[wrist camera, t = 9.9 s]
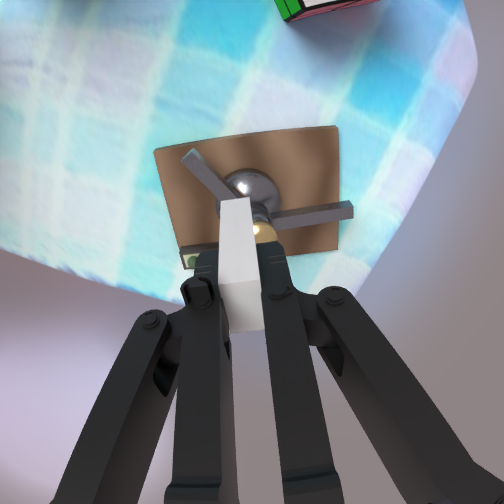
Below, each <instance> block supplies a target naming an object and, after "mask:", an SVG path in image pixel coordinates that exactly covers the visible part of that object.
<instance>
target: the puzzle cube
mask: <svg viewBox="0 0 504 504" xmlns="http://www.w3.org/2000/svg"><path fill="white" fill-rule="evenodd" d="M376 1H379V0H275V3H276V5H277V7H278V9H279V11H280V14H281V16H282V18H283V20H284V21H286V22H291V21H294V20H297V19H301V18H305V17H308V16H312V15H316V14H320V13H324V12H328V11H330V10H332V11H333V10H337V9H342V8H347V7H352V6H357V5H362V4H368V3H372V2H376Z"/></svg>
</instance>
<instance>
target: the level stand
mask: <svg viewBox="0 0 504 504" xmlns="http://www.w3.org/2000/svg"><path fill="white" fill-rule="evenodd" d="M192 148H195V149H196V150H197V151H198V152H199V153H200V154H201V155H202V156H203V157H204V158H205V159H206V160H207V161H208V162H209V163H210V164H211V165H212V166H213V168H214V169H215V170H216V171H217V172H218V173H219V174H220V175H221V176H222V177H223V178H224V177H226V176H227V175H228V174H229V173H231V172H233V171H235V170H238V169H243V168H253V169H258V170H260V171H263V172H264V173H266V174H267V175H269V176H270V177H271V178H272V179H273V181H274V182H275V184H276V186H277V189H278V192H279V196H280V200H281V208H280V211H284V210H290V209H296V208H302V207H308V206H315V205H321V204H328V203H334V202H339V142H338V128H337V127H336V126H319V127H305V128H294V129H283V130H273V131H264V132H255V133H247V134H240V135H232V136H225V137H219V138H212V139H206V140H200V141H194V142H188V143H182V144H177V145H172V146H167V147H161V148H157V149H155V150H154V157H155V161H156V165H157V169H158V173H159V177H160V181H161V185H162V189H163V192H164V196H165V200H166V204H167V207H168V211H169V215H170V218H171V222H172V226H173V229H174V233H175V236H176V240H177V243H178V247H179V250H180V252H179V254H180V257H181V260H182V264H183V267H184V270H186V269H194V268H195V260H196V258H197V257H198V255H199V254H200V252H204V251H211V250H219V235H220V219H219V218H218V216H217V213H216V209H215V202H216V196H215V195H214V194H213V193H212V192H211V191H210V190H209V189H208V188H207V187H206V186H205V185H204V184H203V183H202V182H201V181H200V180H199V179H198V178H197V177H196V176H195V175H194V174H193V173H192V172H191V171H190V170H189V169H188V168H187V167H186V166H185V165H184V164H183V163H182V162H181V160H182V158H183V157H184V156H185V155H186V154H187V153H188V152H189V151H190V150H191V149H192ZM338 224H339V221H333V222H327V223H321V224H315V225H308V226H302V227H296V228H290V229H284V230H278V231H276V233H277V238H278V242H279V243H280V244H281V245H282V246H283V247H284V251H285V256H292V255H300V254H308V253H316V252H324V251H331V250H338Z"/></svg>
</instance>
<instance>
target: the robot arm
mask: <svg viewBox="0 0 504 504" xmlns="http://www.w3.org/2000/svg"><path fill="white" fill-rule="evenodd" d="M180 290H181V293H182V296H183V299H184V302H185V304H186V306H185V307H184V308H182V309H181V310H179V311H177V312H174V313H172V314H169V315H166V314H165V313H164V312H163V311H161V310H149V311H146V312H145V313H143V314H142V315H140V316H139V317H138V319H137V320H136V322H135V323H134V325H133V327H132V329H131V331H130V333H129V335H128V337H127V339H126V341H125V343H124V344H123V346H122V348H121V350H120V352H119V354H118V356H117V358H116V360H115V362H114V364H113V366H112V368H111V370H110V372H109V374H108V376H107V378H106V380H105V382H104V385H103V387H102V389H101V391H100V393H99V395H98V397H97V399H96V401H95V403H94V406H93V408H92V410H91V412H90V414H89V416H88V419H87V421H86V423H85V425H84V427H83V430H82V432H81V434H80V436H79V439H78V441H77V443H76V446H75V448H74V450H73V452H72V455H71V457H70V460H69V462H68V464H67V467H66V469H65V472H64V474H63V477H62V479H61V482H60V484H59V486H58V489H57V492H56V494H55V497H54V499H53V500H52V501H51V502H50V504H137V503H138V500H139V497H140V494H141V491H142V488H143V484H144V481H145V479H146V476H147V473H148V470H149V466H150V464H151V461H152V458H153V455H154V452H155V449H156V446H157V443H158V440H159V437H160V434H161V432H162V429H163V426H164V423H165V420H166V417H167V414H168V412H169V409H170V406H171V403H172V400H173V397H174V395H175V392H176V389H177V400H176V415H175V431H174V448H173V470H172V481H171V483H170V484H169V485H168V487H167V488H166V491H165V495H164V504H240V503H239V498H238V486H237V467H236V448H235V429H234V405H233V382H232V381H233V380H232V352H231V341H230V338H229V330H230V333H239V332H248V331H257V330H264V329H265V336H266V344H267V353H268V360H269V369H270V378H271V386H272V395H273V404H274V413H275V421H276V430H277V438H278V447H279V456H280V465H281V474H282V484H283V494H284V503H285V504H344V498H343V492H342V487H341V483H340V479H339V475H338V473H337V472H336V470H335V467H334V463H333V458H332V453H331V448H330V442H329V438H328V433H327V428H326V423H325V418H324V413H323V408H322V404H321V399H320V394H319V389H318V385H317V380H316V375H315V372H314V366H313V362H312V357H311V353H310V348H309V345H310V346H316V347H317V350H318V351H319V353H320V355H321V357H322V358H323V360H324V362H325V363H326V365H327V367H328V369H329V370H330V372H331V374H332V375H333V377H334V379H335V380H336V382H337V384H338V386H339V388H340V389H341V391H342V392H343V394H344V396H345V398H346V400H347V401H348V403H349V405H350V407H351V408H352V410H353V412H354V413H355V415H356V417H357V419H358V420H359V422H360V424H361V425H362V427H363V429H364V431H365V433H366V434H367V436H368V438H369V440H370V441H371V443H372V445H373V447H374V448H375V450H376V452H377V453H378V455H379V457H380V458H381V460H382V462H383V464H384V466H385V467H386V469H387V471H388V473H389V474H390V476H391V478H392V480H393V481H394V483H395V485H396V487H397V489H398V490H399V492H400V494H401V495H402V497H403V498H404V500H405V501H406V503H407V504H504V482H503V481H501V480H500V479H498V478H497V477H495V476H494V475H493V474H491V473H490V472H488V471H487V470H485V469H484V468H482V467H481V466H479V465H478V464H476V463H475V462H474V461H473V460H472V458H471V457H470V455H469V454H468V452H467V451H466V449H465V448H464V446H463V445H462V443H461V442H460V440H459V439H458V437H457V436H456V434H455V433H454V432H453V430H452V428H451V427H450V425H449V424H448V423H447V421H446V420H445V418H444V417H443V415H442V414H441V413H440V411H439V410H438V408H437V407H436V405H435V404H434V403H433V401H432V400H431V398H430V397H429V396H428V394H427V393H426V391H425V390H424V389H423V387H422V386H421V385H420V383H419V382H418V380H417V379H416V378H415V376H414V375H413V373H412V372H411V371H410V369H409V368H408V367H407V365H406V364H405V363H404V361H403V360H402V359H401V357H400V356H399V355H398V353H397V352H396V351H395V349H394V348H393V347H392V345H391V344H390V343H389V341H388V340H387V339H386V337H385V336H384V335H383V334H382V332H381V331H380V330H379V328H378V327H377V326H376V324H375V323H374V322H373V321H372V319H371V318H370V317H369V316H368V314H367V313H366V312H365V310H364V309H363V308H362V307H361V305H360V304H359V303H358V301H357V300H356V299H355V298H354V296H353V295H352V294H351V293H350V292H349V291H348V290H347V289H345V288H342V287H339V286H330V287H326V288H324V289H322V290H321V291H320V292H319V293H318V295H313V294H306V293H303V292H300V291H299V290H297V289H296V288H295V287H294V286H293V283H292V280H291V276H290V272H289V268H288V264H287V260H286V256H285V251H284V247H283V246H282V245H281V244H280V243H279V242H278V241H272V242H265V243H258V244H256V242H255V235H254V227H253V220H252V213H251V206H250V198H249V197H246V198H239V199H232V200H225V201H221V209H220V235H219V250H211V251H204V252H200V254H199V255H198V257H197V258H196V260H195V268H194V276H193V277H191V278H189V279H187V280H186V281H185V282H184V283H183V284H182V285H181V288H180ZM177 386H178V387H177Z"/></svg>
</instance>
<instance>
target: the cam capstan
mask: <svg viewBox="0 0 504 504" xmlns="http://www.w3.org/2000/svg"><path fill="white" fill-rule="evenodd" d="M181 162H182V163H183V164H184V165H185V166H186V167H187V168H188V169H189V170H190V171H191V172H192V173H193V174H194V175H195V176H196V177H197V178H198V179H199V180H200V181H201V182H202V183H203V184H204V185H205V186H206V187H207V188H208V189H209V190H210V191H211V192H212V193H213V194H214V195H215V196H216V202H215V209H216V213H217V216H218V218H219V219H220V209H221V201H225V200H232V199H239V198H246V197H249V198H250V206H251V213H252V220H253V227H254V235H255V242H256V244H258V243H265V242H272V241H278V238H277V233H276V231H278V230H284V229H290V228H296V227H302V226H308V225H315V224H321V223H327V222H333V221H339V220H346V219H352V218H354V217H353V205H352V204H351V202H350V201H349V200H348V201H341V202H334V203H328V204H321V205H315V206H308V207H302V208H296V209H290V210H284V211H280V208H281V200H280V196H279V192H278V189H277V186H276V184H275V182H274V181H273V179H272V178H271V177H270V176H269V175H267V174H266V173H264V172H263V171H260V170H258V169H253V168H243V169H238V170H235V171H233V172H231V173H229V174H228V175H227V176H226V177H224V178H223V177H222V176H221V175H220V174H219V173H218V172H217V171H216V170H215V169H214V168H213V166H212V165H211V164H210V163H209V162H208V161H207V160H206V159H205V158H204V157H203V156H202V155H201V154H200V153H199V152H198V151H197V150H196V149H195V148H192V149H191V150H190V151H189V152H188V153H187V154H186V155H185V156H184V157H183V158H182V160H181Z"/></svg>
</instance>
